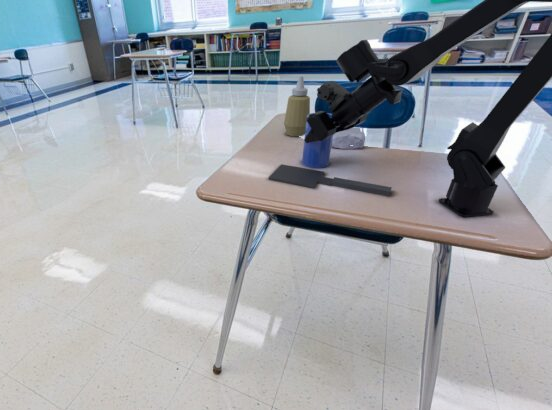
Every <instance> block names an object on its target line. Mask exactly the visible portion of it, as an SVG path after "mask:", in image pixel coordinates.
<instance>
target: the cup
mask: <svg viewBox="0 0 552 410" xmlns="http://www.w3.org/2000/svg"><path fill="white" fill-rule="evenodd" d="M313 113H314V112H312V113H310V114H308V115H307V118H308V117H309V116H310V115H311V114H313ZM326 113H327V114H328V116H329V117H330V118H332V117H331V115H330V114H331V113H329V112H326ZM310 130H311V127H310V126H309V124H308V122H307V121H306V130H305V135H304V138H305V137H306V136H307V134H308V133H309V131H310ZM332 139H333V135H332V136H331V137H330V138H328V139H325V140H323V141H320V140H319V141H314V142H309V143H306V142H305V141H304V140H303V141H304V142H303V150H302V158H301V159H302V160H301V163H302V165H303V166H305V167H308V168H310V169H323V168H326V167H328V166H329V164H330V158H331V152H332V146H331V145H332Z"/></svg>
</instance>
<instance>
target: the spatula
mask: <svg viewBox="0 0 552 410" xmlns="http://www.w3.org/2000/svg"><path fill="white" fill-rule="evenodd" d="M324 175H325V171H323V170H317V169H313V168H305V167H301V166H293V165H289V164H280V165H279V166H278V167H277V168H276V169H275V170H274V171H273V172H272V173H271V174H270V175H269V176H268V180H270V181H274V182H280V183H285V184H290V185H295V186H300V187H305V188H310V189H315V188H316V187H317V185H318V184H320V185H325V186H331V187H332V186H333V187H338V188H343V189H349V190H353V191H360V192H364V193H370V194H375V195H381V196H385V197H390V196H391V192H392V188H393V187H392V186H387V185H382V184H375V183H369V182H364V181H358V180H352V179H348V178H343V177H333V178H332V177H327V176H324Z"/></svg>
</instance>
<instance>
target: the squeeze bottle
mask: <svg viewBox="0 0 552 410" xmlns="http://www.w3.org/2000/svg"><path fill="white" fill-rule="evenodd" d="M310 109H311V97H310V96H309V95H308V88H306V87H305V81H304V76H303V75H300V76H298V80H297V82H296V86H295V87H293V88H292V89H291V95H290V96H288V99H287V104H286V110H285V116H284V121H283V124H284V125H283V126H284V129H285V133H286V135H288V136H291V137H303V136H305V130H306V121H307V115H308V114H311V113H310V112H311V110H310Z"/></svg>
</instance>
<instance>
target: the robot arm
mask: <svg viewBox="0 0 552 410" xmlns="http://www.w3.org/2000/svg"><path fill="white" fill-rule="evenodd" d="M530 2H531V3H532V2H534V3H552V0H483V1H481V2H480V3H478V4H477V5H475V6H474V7H473V8H471V9H469V10H468V11H467V12H465V13H464V14H462V15H461V16H460V17H458V18H457V19H455V20H454V21H452V22H451V23H450V24H448V25H446V26H445V27H444V28H442V29H441V30H439V31H438V32H436V33H435V34H434V35H432V36H431V37H428V38H426V39H425V40H423V41H421V42H418V43H417V44H414V45H412V46H410V47H408V48H406V49H404V50H401V51H400V52H398V53H396V54H394V55H392V56H390V57H386V58H382V59H380V58H379V57H378V56H377V54H376V52H375V51H374V50H373V48H372V46H371V44H370V42H369V41H368V40H367V39H362V40H361V39H360V41H359V42H358V43H356V44H354V45H353V46H351V47H350V48H348V49H347V50H345V51H343V52H342V53H341V54H340V55H339V56H338V57H337V59H336V63H337V65H338V66H339V68H340V69H341V71H342V73H343V74H344V75H345V77H346V78H347V80H348V81H349V83H354V82H356V84H360V85H359V86H358V87H356V88H355V90H353V91H351V92H350V91H348V89H347V88H345V87H344V86H342V85H341V84H340V83H338V82H336V81H335V80H329V81H326V82H323V83H322V84H321V85H320V86H319V87H318V88H317V89H316V92H317V93H316V97H317V98H318V99H320V100H322V102H325V103H327V104H328V105H329V106H328V107H327V108H328V110H329V112H331V113H330V115H331V117H332V118H330V117H329V116H328V114H327V113H328V112H327V111H326V110H319V111H316V112H312V113H313V114H311V113H310V114H311V115H310V116H309V117H308V118H307V122H308V124H309V126H310V127H311V130H310V131H309V133H308V134H307V136H306V137H305V136H304V140H303V141H305V142H306V143H309V142H314V141H319V140H320V141H323V140H325V139H328V138H330V137H331V136H332V135H334V134H335V133H337V132H340V131H344V130H348V129H351V128H353V127H357V126H360V125H362V124H363V123H364V122H366V121H367V119H368V115H369V114H370V113H372V112H373V110H374V109H375V108H377V107H378V106H379V105H381V104H383V103H384V102H385V101H387V102H388V103H389V105H391V106H393V105H395V104H398V103H400V102H401V101H402V100H401V99H402V93H403V91H404V89H402V88H397V87H399V86H400V87H401V86H403V85H406V84H409V83H411V82H414V81H417V80H419V79H420V78H421V77H423V76H424V75H425V74H426V73H428V71H430V70H431V69H432V68H433V67H435V65H436V64H437V63H439V62H440V60H442V59H443V58H444V57H445V56H446V55H447V54H448V53H450V52H451V51H453V50H455V49H456V48H458V47H459V46H461V45H463V44H464V43H466V42H467V41H469V40H470V39H472V38H474V37H475V36H476V35H479V34H480V33H481V32H483V31H484V30H486V29H488V28H490V27H491V26H492V25H494V24H495V23H497V22H499V21H500V20H502V19H503V18H505V17H506V16H508V15H510V14H511V13H513V12H515V11H516V10H517V9H519V8H521V7H523V6H524V5H526V4H528V3H530ZM551 80H552V32H551V33H550V35H549V37H547V39H546V40H545V41H544V43H543V44H542V46H540V48H539V49H538V51H537V52H536V53H535V55H533V57H532V58H531V60H530V61H529V62H528V63H527V64H526V66H525V67H524V69H523V70H522V71H521V72H520V73H519V75H518V76H517V77H516V79H515V80H514V81H513V83H512V84H511V85H510V86H509V88H508V89H507V90H506V91H505V92H504V94H503V95H502V97H501V98H500V99H499V100H498V101H497V103H496V104H495V105H494V106H493V108H492V109H491V110H490V112H489V113H488V114H487V116H486V117H485V118H484V119H483V120H482V122H480V123H479V124H476V123H475V122H473V121H472V122H471V123H469V124H467V125H466V126H464V127H463V128H462V129H461V130H460V132H459V133H458V135H457V137H456V138H455V141H454V142H453V143H452V144H451V145H449V146H448V147H447V150H449V151H448V153H447V156H446V161H447V164H448V166H449V167H450V169H451V170H452V172H453V178H452V179H451V181H450V184H449V187H448V189H447V191H446V194H445V197H443V198H442V197H441V198H439V199H438V203H440V204H442V205H443V206H444V207H446V208H447V209H449V210H450V211H452V212H453V213H455V214H456V215H458V216H460V217H462V218H466V217H467V218H468V217H478V216H487V215H494V213H495V211H494V210H492V209H491V208H489V207H490V204H491V203H492V201H493V198H494V196H495V194H496V191H497V189H498V187H499V185H498V184H497V183H496V179H497V178H498V177H499V176H500V175H501V174H502V172H503V171H504V170H505V169H506V165H505V164H504V163H503V161H502V160H501V159H500V157H499V156H498V155H497V152H498V151H499V149H500V147H501V145H502V144H503V142H504V140H505V138H506V136H507V134H508V132H509V130H510V128H511V127H512V125H514V123H515V122H516V120H518V118H519V117H520V116H521V115H522V113H523V112H524V111H525V110H526V109H527V108H528V107H529V105H531V103H532V102H533V101H534V100H535V99H536V97H537V96H538V95H540V93H541V92H542V91H543V89H544V88H545V87H546V86H547V85H548V83H549V82H550V81H551ZM362 82H363V83H362Z"/></svg>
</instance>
